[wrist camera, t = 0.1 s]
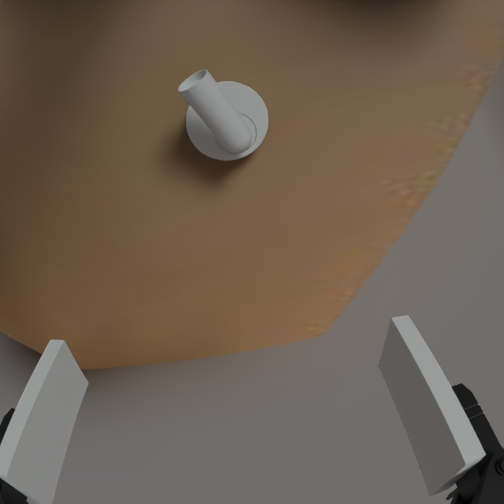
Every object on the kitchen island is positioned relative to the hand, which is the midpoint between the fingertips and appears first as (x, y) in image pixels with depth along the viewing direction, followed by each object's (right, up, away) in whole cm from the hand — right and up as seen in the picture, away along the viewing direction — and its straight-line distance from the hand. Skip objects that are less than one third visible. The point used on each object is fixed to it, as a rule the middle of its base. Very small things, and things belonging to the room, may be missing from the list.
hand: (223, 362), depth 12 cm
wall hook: (-2, +19, +22) cm, 29 cm away
